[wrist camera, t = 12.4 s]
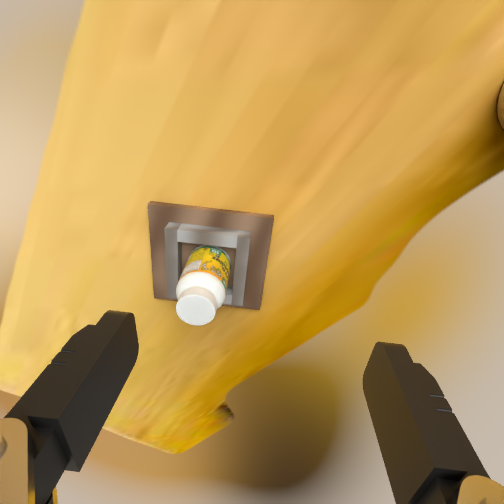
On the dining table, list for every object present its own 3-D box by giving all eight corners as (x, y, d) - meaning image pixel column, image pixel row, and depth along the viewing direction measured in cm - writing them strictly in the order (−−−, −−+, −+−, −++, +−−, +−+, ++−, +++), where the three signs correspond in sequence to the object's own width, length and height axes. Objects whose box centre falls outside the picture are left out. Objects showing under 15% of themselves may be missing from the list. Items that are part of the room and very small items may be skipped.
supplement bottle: (181, 253, 38) (157, 300, 29) (217, 236, 36) (203, 280, 28) (204, 284, 40) (187, 337, 31) (239, 269, 39) (231, 320, 30)
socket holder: (273, 215, 36) (274, 225, 33) (260, 305, 43) (259, 319, 40) (150, 201, 36) (141, 209, 33) (156, 293, 42) (149, 307, 40)
